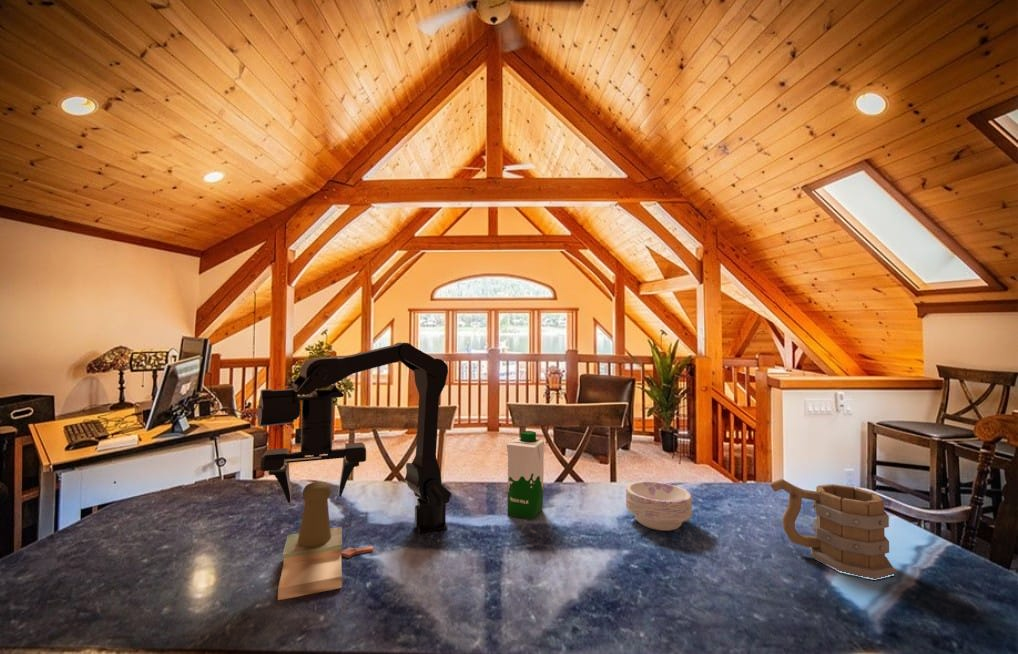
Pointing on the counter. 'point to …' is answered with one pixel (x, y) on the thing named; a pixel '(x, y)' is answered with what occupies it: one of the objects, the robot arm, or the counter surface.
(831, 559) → the tankard
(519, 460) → the milk carton
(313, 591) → the tan piece
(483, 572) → the counter surface
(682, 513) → the paper bowls
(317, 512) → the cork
